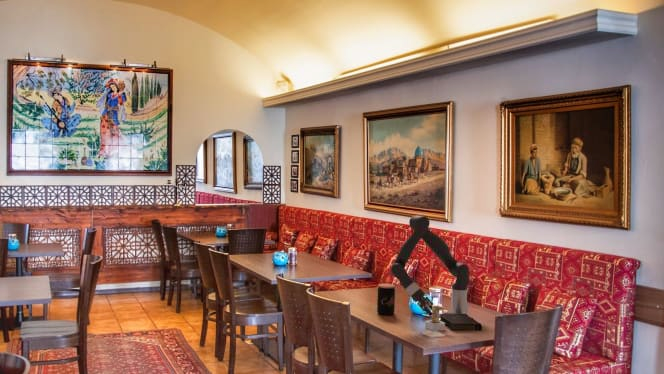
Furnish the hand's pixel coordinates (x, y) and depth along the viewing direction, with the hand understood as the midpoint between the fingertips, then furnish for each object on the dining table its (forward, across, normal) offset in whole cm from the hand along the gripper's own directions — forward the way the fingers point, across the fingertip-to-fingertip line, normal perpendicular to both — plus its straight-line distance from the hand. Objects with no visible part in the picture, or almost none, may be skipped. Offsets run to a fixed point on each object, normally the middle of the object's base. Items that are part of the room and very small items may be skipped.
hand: (433, 314), depth 392 cm
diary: (+14, +15, -1) cm, 21 cm away
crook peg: (+8, 0, +4) cm, 9 cm away
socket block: (+7, 0, +5) cm, 9 cm away
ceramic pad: (+9, -14, +3) cm, 17 cm away
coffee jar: (-20, +21, +32) cm, 43 cm away
